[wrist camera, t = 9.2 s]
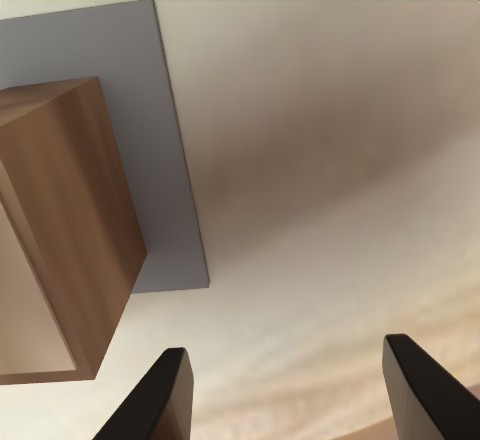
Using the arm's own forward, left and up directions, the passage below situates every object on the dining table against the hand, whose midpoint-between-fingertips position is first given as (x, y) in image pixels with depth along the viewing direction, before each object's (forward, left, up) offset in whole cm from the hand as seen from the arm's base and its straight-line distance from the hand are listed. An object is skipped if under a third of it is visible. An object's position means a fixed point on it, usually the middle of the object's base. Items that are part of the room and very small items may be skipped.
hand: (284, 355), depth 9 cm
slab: (+9, 0, -12) cm, 15 cm away
